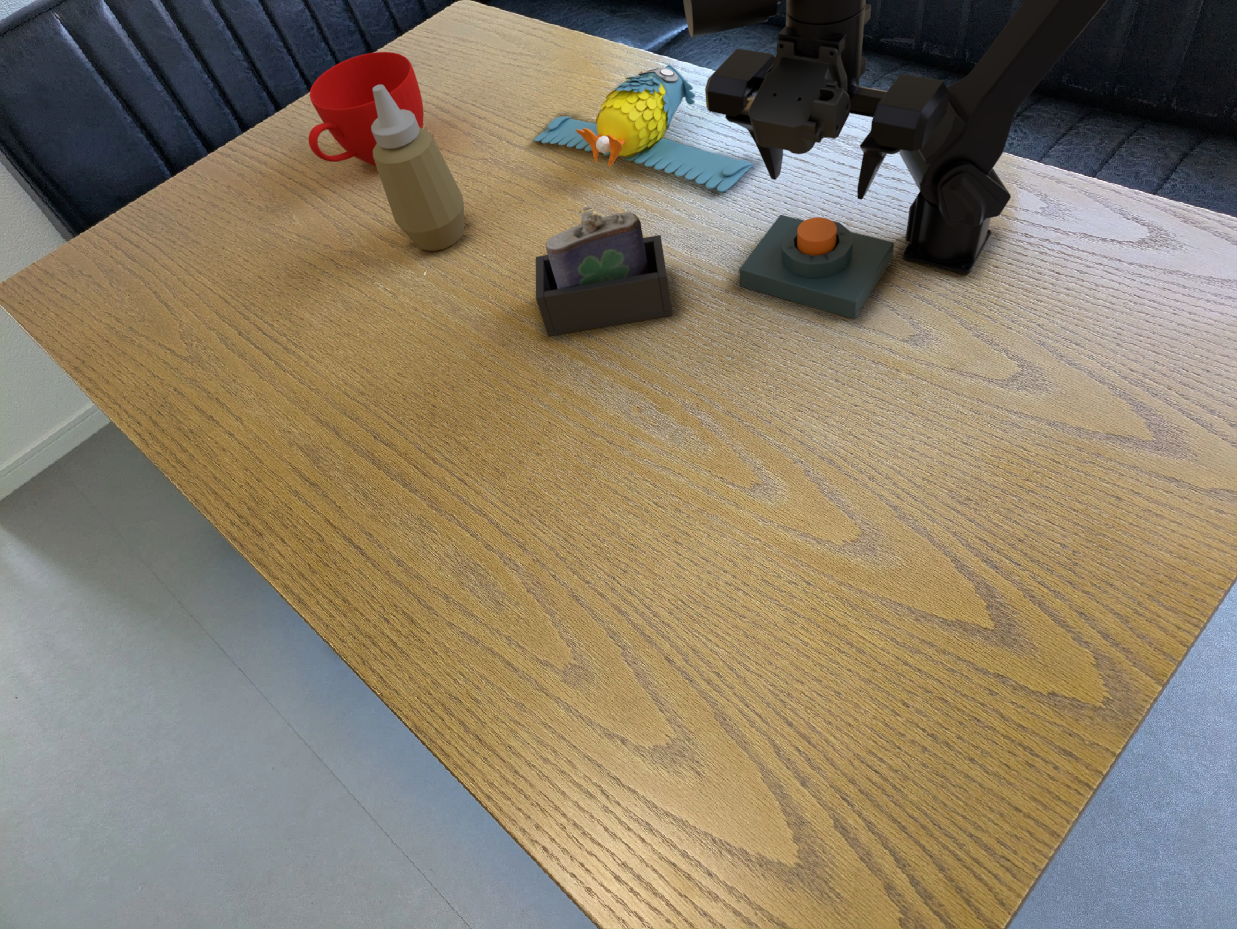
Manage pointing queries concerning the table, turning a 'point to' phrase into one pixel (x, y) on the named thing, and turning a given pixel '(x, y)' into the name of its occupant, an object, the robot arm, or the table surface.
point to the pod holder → (604, 296)
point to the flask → (598, 250)
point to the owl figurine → (646, 130)
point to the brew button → (816, 236)
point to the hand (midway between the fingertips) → (817, 186)
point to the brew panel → (817, 268)
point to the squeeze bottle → (415, 177)
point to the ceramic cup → (361, 101)
